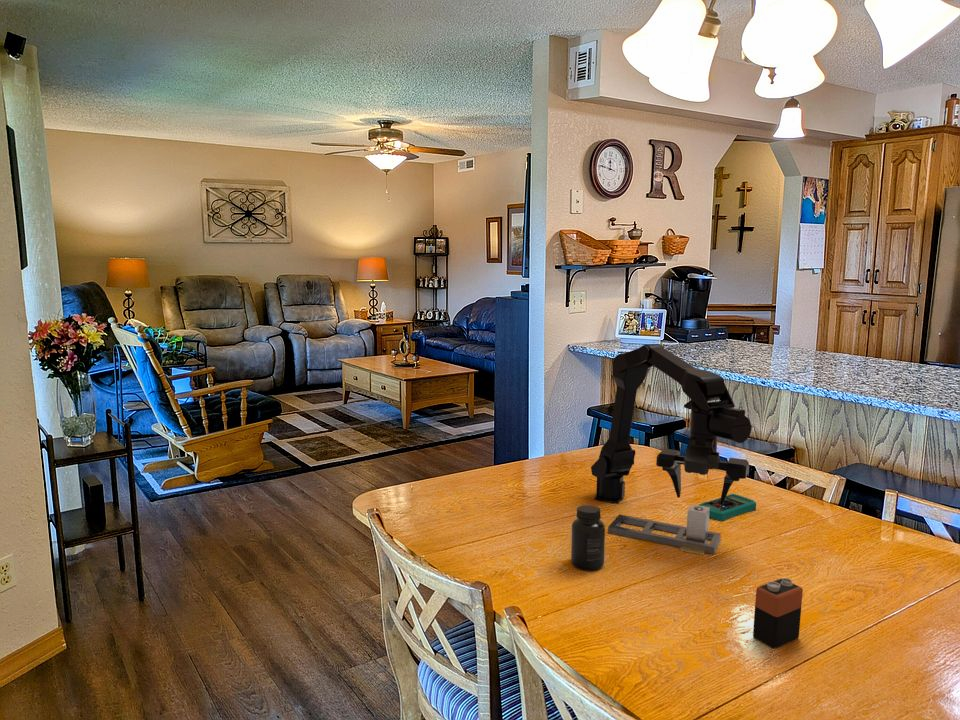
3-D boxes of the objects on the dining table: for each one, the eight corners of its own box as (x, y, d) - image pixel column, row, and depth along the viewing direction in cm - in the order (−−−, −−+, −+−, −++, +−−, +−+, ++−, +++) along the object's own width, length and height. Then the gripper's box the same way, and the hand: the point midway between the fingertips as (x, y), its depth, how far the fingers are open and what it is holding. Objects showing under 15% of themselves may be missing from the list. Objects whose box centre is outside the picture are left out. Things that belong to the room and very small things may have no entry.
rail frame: (605, 535, 156) (606, 529, 156) (619, 520, 165) (619, 514, 164) (712, 557, 145) (712, 550, 145) (720, 539, 154) (720, 533, 154)
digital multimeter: (695, 514, 170) (695, 502, 170) (732, 502, 178) (732, 491, 178) (720, 523, 164) (720, 512, 164) (757, 511, 172) (757, 500, 172)
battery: (751, 637, 115) (755, 581, 113) (777, 626, 118) (781, 572, 116) (774, 650, 111) (778, 592, 109) (800, 638, 114) (804, 582, 113)
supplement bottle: (606, 559, 143) (608, 505, 142) (601, 573, 137) (603, 516, 135) (574, 554, 146) (575, 501, 144) (567, 568, 139) (569, 512, 137)
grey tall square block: (685, 544, 151) (687, 509, 150) (689, 538, 155) (691, 503, 153) (704, 548, 149) (706, 512, 148) (707, 541, 153) (709, 506, 152)
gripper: (651, 434, 145) (648, 504, 148) (744, 446, 137) (739, 520, 139) (663, 423, 155) (660, 489, 157) (751, 434, 146) (746, 503, 149)
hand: (700, 500), depth 150 cm, fingers open, 9 cm apart
